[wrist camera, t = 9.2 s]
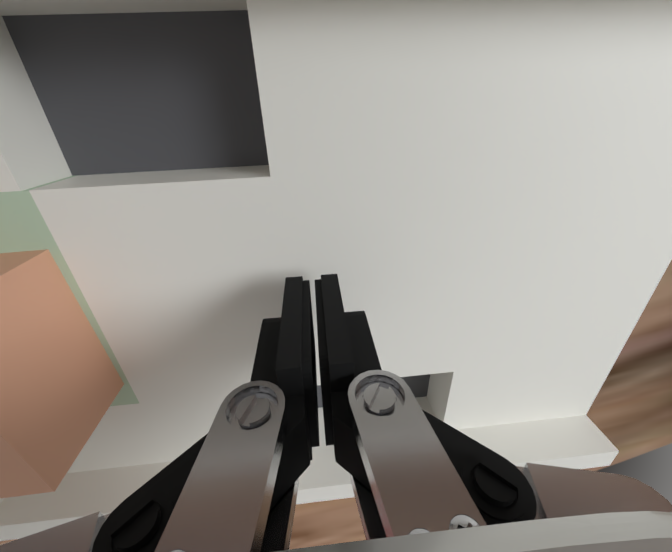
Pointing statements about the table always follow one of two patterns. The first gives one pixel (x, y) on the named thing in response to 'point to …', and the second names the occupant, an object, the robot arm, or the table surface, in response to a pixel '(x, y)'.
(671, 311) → the table surface
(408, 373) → the box
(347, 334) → the robot arm
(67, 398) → the block
